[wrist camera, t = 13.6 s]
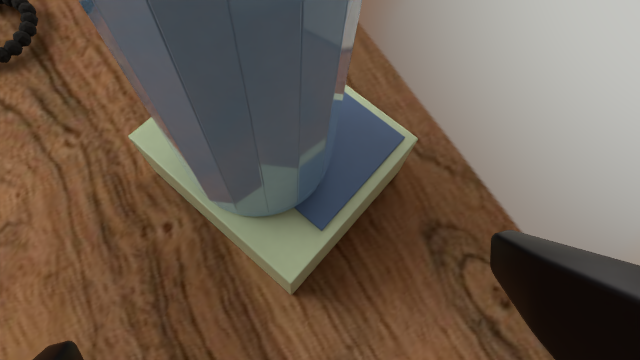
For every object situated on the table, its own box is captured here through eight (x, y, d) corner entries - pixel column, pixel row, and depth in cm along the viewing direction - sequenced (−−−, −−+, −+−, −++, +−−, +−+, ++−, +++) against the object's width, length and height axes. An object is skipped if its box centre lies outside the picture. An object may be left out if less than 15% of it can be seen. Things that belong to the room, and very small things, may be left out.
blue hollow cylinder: (330, 218, 17) (392, -2, 6) (177, 215, 17) (-38, -26, 6) (330, 91, 20) (375, -230, 9) (196, 86, 20) (67, -255, 8)
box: (398, 171, 23) (420, 136, 19) (291, 295, 20) (290, 283, 16) (269, 71, 25) (264, 20, 21) (154, 170, 22) (125, 133, 18)
